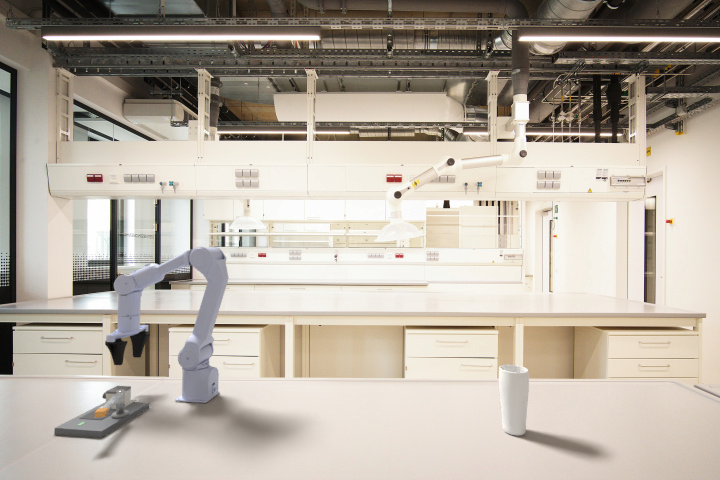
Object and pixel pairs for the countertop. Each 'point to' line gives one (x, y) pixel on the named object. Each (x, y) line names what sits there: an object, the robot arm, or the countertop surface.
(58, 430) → the grey flat board
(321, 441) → the countertop surface
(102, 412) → the orange-tipped grey rod
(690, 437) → the countertop surface
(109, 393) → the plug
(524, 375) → the drinking glass
